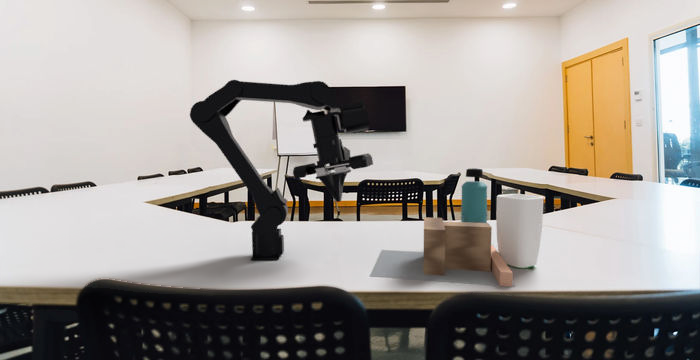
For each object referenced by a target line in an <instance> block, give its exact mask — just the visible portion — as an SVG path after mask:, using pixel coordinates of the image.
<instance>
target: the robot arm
mask: <svg viewBox="0 0 700 360" xmlns="http://www.w3.org/2000/svg"><path fill="white" fill-rule="evenodd" d="M241 101H253V102H271V103H283V104H286V103H287V104H292V105H297V106H300V107H303V108H306V109H307V110H306V112H305V115H304V116H303V117H302V122H304V123H305V122H310V124H311V128H312V134H313V139H314V143H313V144H312V145H313V149H316V154H317V158H318V161H316V163H315V162H313V163H312V162H311V163H306V164H301V165H297V166H295V167H294V168H293V169H292V175H293V179H301V178H306V176H309V175H310V176H311V175H315V174H316V176H315V179H316V180H320V181H321V183H322V184H323V185H324V187H326V189H327V190H328V191H329V193H330V195H331V196H332V197H333V199H334V200H335V202H336V203H339V202H342V198H343V190H344V184H345V179H346V177H347V175H348V174H349V173H351V172H352V170H357V169H362V168H363V169H364V168H367V167H370V166H372V165H374V163H373V162H374V161H373V156H372V155H371V154H370V153H363V154H356V155H353V156H351V150H350V149H349V148H347V147H346V146H344V145H343V141H342V139H341V138H340V136H339V132H338V128H339V131H344V134H345V135H346V134H350V133H355V132H356V133H357V132H361V131H367V130H369V129H370V120H369V119H370V118H369V113H367V109H366V107H365V105H364V101H363V100H359V101H356V102H353V103H352V102H351V103H347V104H346V103H345V104H342V102H340V101H339V99H337V98H336V97H335V96H334V95H333V94H332V91H331V88H330V86H329V85H328V84H327V83H326V82H324V81H320V80H315V81H306V82H300V83H297V84H281V83H270V82H268V83H267V82H256V81H240V80H238V79H231V80H229V81H227V83H225V84H224V86H222V87H221V88H219V89H217V90H216V91H214V92H213V93H211V94H209V95H208V96H207V97H206V98H205V99H204V100H200V101H197V102H195V103H194V104H193V105H192V107H191V108H190V111H189V117H190V120H191V122H192V123H193V124H194V125H195V127H197V128H198V129H199V130H200V131H201V132H202V133H203V134H204V135H205V136H207V138H209V139H210V140H211V141H212V142H214V143H215V145H216V146H217V147H218V148H219V149H220V152H221V153H222V155H223V156H224V157H225V159H226V160H227V161H228V163H229V164H230V166H231V167H232V169H233V170H234V171H235V173H236V174H237V176H238V177H239V179H240V180H241V181H242V183H243V184H244V185H245V187H246V188H247V189H246V190H248V191H249V193H250V194H251V196H252V199H253V202H254V205H255V207H256V210H257V212H258V215H259V216H258V217H257V218H256V219H255V220H254V222H253V223H252V224H251V231H252V232H251V242H252V245H251V247H252V248H251V249H252V255H251V257H250V261H265V260H266V261H269V260H270V261H272V260H280V258H281V257H282V255H283V254H284V252H285V236H284V235H283V234H282V228H278V227H279V226H280V225H282V224H283V223H284V222H285V221H286V220H287V219H286V218H287V215H288V211H289V207H288V204H287V203H288V199H286V198H285V197H284V195H283V194H282V192H281V189H280V188H279V187H276V188H275V189H274V190H273V189H272V188H271V187H270V186H268V184H267V183H266V181H265V180H264V179H263V178H262V176H261V174H260V173H259V172H258V170H257V168H256V167H255V166H254V164H253V163H252V162H251V160H250V159H249V157H248V156H247V154H246V153H245V151H244V150H243V148H242V147H241V146H240V144H239V142H238V140H236V138H235V137H234V136H233V131H232V129H231V126H230V124H229V121H228V120H227V116H228V115H230V113H232V111H233V110H234V109H235V108H236V106H237V105H238V104H239V103H240V102H241ZM310 110H315V111H314V112H312V111H310ZM325 111H327V112H329V113H326V112H325ZM336 119H337V120H336ZM337 124H338V127H337ZM350 168H351V169H350ZM332 171H334V172H332Z"/></svg>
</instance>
